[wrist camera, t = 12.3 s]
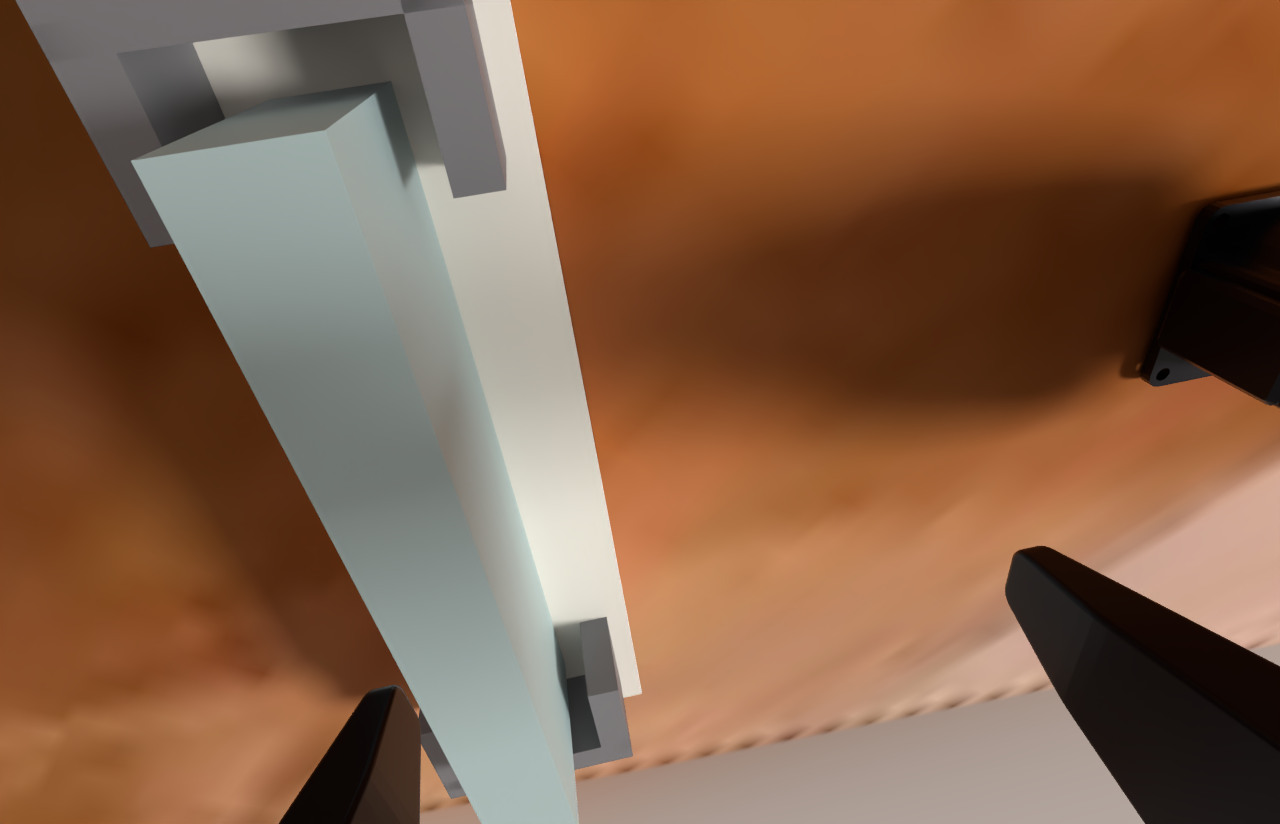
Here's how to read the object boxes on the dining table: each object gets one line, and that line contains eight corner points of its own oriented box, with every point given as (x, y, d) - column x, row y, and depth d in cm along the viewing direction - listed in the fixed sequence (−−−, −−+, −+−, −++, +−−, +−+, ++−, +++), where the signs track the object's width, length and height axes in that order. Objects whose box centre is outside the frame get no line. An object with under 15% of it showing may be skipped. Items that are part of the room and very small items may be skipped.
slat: (391, 81, 14) (324, 130, 9) (565, 665, 25) (579, 834, 20) (269, 99, 14) (130, 160, 9) (499, 679, 25) (497, 854, 20)
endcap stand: (487, -117, 13) (480, -160, 10) (635, 662, 28) (656, 766, 24) (80, -67, 13) (-96, -92, 9) (447, 704, 27) (437, 817, 23)
